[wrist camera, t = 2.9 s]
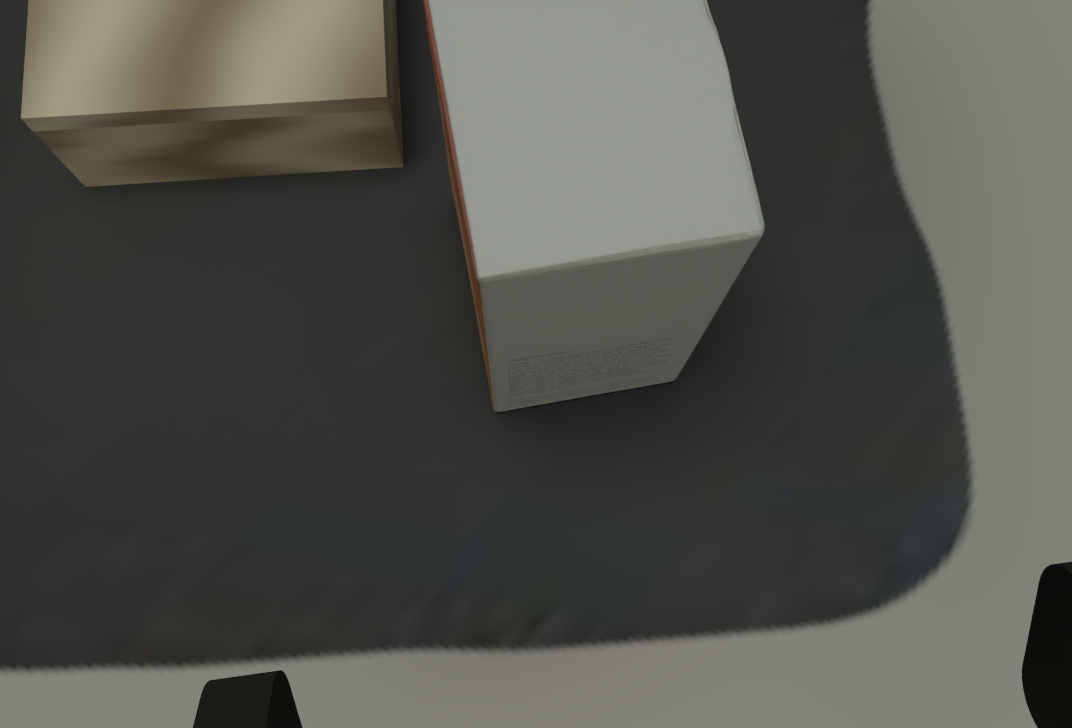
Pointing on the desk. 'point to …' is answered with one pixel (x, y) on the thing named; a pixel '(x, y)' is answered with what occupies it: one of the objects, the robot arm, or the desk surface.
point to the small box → (591, 186)
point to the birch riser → (213, 87)
